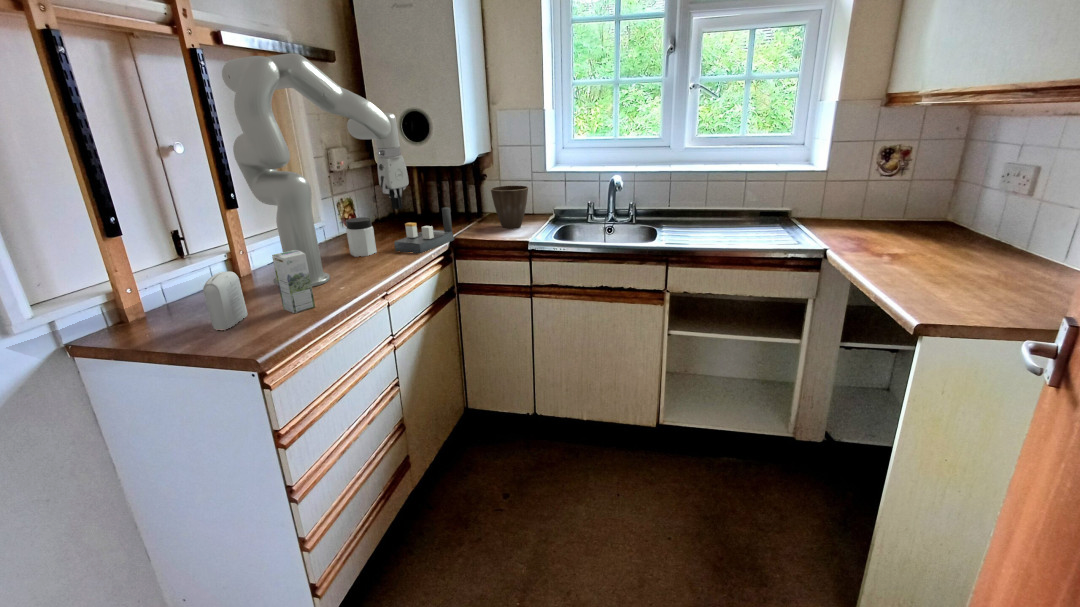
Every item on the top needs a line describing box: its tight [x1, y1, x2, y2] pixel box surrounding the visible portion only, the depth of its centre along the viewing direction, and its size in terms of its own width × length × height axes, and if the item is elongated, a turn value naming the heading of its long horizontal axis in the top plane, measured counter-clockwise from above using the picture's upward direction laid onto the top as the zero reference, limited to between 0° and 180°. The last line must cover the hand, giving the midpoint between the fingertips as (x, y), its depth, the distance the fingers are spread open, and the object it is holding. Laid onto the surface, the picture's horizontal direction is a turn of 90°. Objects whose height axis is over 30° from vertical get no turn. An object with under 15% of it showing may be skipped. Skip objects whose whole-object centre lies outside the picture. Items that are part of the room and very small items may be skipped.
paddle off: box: [421, 225, 434, 239], centre depth 183 cm, size 2×3×4 cm
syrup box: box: [272, 250, 316, 314], centre depth 130 cm, size 6×6×14 cm
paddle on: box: [404, 222, 418, 238], centre depth 186 cm, size 2×3×5 cm
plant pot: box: [490, 185, 529, 230], centre depth 211 cm, size 15×15×16 cm
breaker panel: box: [393, 229, 454, 254], centre depth 189 cm, size 20×11×4 cm, turn 155°
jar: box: [345, 217, 377, 258], centre depth 180 cm, size 9×8×12 cm
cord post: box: [441, 206, 455, 241], centre depth 195 cm, size 4×4×12 cm
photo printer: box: [202, 270, 248, 330], centre depth 122 cm, size 10×4×12 cm, turn 3°
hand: (397, 208), depth 178 cm, fingers closed
